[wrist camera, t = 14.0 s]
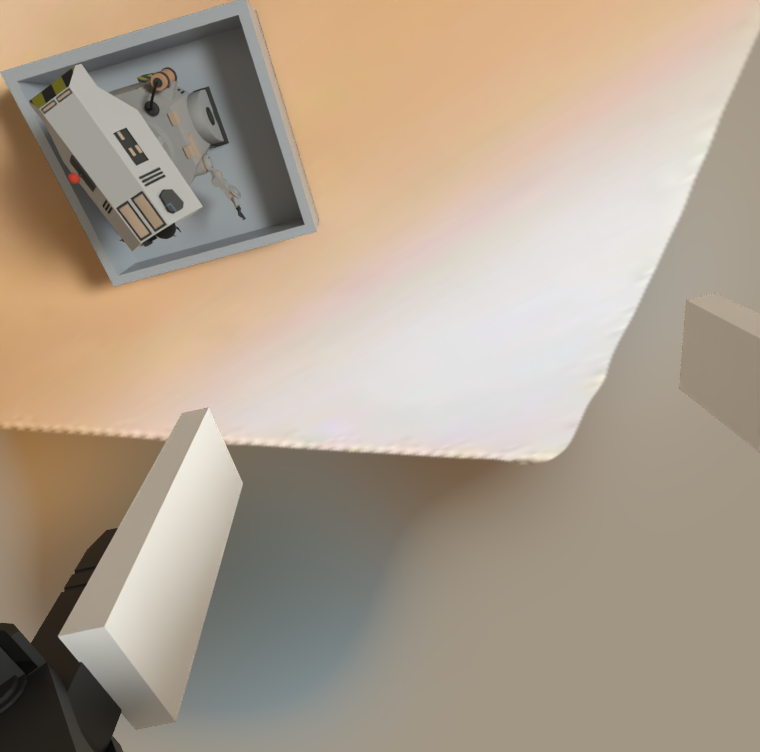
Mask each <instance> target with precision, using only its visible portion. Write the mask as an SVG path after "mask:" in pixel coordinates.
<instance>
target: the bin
mask: <svg viewBox="0 0 760 752" xmlns="http://www.w3.org/2000/svg"><path fill="white" fill-rule="evenodd" d="M79 64H82V65H83V67H84V68H85V70H86V71H87V73H88V74H89V75H90V77H91V78H92V80H93V81H94V83H95V84H96V85H97V87H99V88H101V89H103V90H104V91H106V92H108V93H109V92H111V91H113V90H116V89H120V88H123V87H126V86H130V85H133V84H136V83H139V81H138V79H137V77H140V76H141V75H145V74H150V73H154V72H156V71H158V70H159V71H161V70H162V69H163V68H165V67H169V68H172V69H173V70H174V71H175V72H176V75H177V81H178V83H177V86H179V87H180V88H182V89H184V90H186V91H187V92H188V93H189V94H190V93H193V91H195V90H198V89H201V88H205V87H208V86H209V88H210V91H211V94H212V96H213V99H214V102H215V105H216V108H217V110H218V113H219V116H220V119H221V122H222V124H223V127H224V130H225V133H226V136H227V138H228V141H229V143H228V144H224V145H221V146H218V147H215V146H212V144H210V147H209V150H208V152H207V154H209V155H210V157H211V158H212V161H213V163H214V167H215V170H220V171H221V172H222V175H223V176H222V178H224V179H226V180H227V181H228V183H229V184H230V185H233V186H235V187H236V188H237V189H238V190H239V191H240V193H241V198H240V199H238V200H239V202H240V204H241V205H240V207H241V212H242V214H243V215H244V216H245V218H246V219H245V220H243V218H241V217H239V216H238V211H237V210H236V208H235V206H234V204H233V202H232V201H231V200H229V199H228V198H227V196H226V195H225V193H224V191H223V190H221V189H220V187H215V186H213V185H212V183H211V180H212V178H213V177H212V175H211V173H210V172H207V174H203V175H200V176H196V177H195V178H194V180H193V182H192V183H191V185H190V186H189V187H190V188H191V190H192V191H193V193H194V194H195V196H196V197H197V199H198V200H199V201H200V203H201V204H202V206H203V208H202V209H200V210H199V211H197V212H196V213H194V214H193V215H191V216H189V217H188V218H186V219H185V220H183V221H182V222H180V223H178V224H177V225H176V226H177V227H179V229H180V231H181V232H180V231H179V230H178V229H176V232H175V234H174V235H175V236H173V237H171V238H169V239H161V238H159V237H157V239H155V240H154V241H152V242H153V243H152V244H150V245H149V246H147V247H145V246H142V247H140V248H138V249H136V250H134V251H131V250H130V248H129V247H128V246H127V244H126V243H125V242H123V241H119V240H121V239H122V238H121V237H120V235H119V234H118V233H117V231H116V230H115V229H114V227H113V226H112V225H111V224H110V222H109V221H108V220H107V218H106V217H105V216H104V214H103V213H102V212H101V211H100V209H99V208H98V207H97V205H96V204H95V203H94V201H93V200H92V199H91V198H90V196H89V195H88V194H87V192H86V191H85V190H84V188H83V187H82V186H81V184H80V183H78V184H73V183H71V182H70V181H69V180H68V175H69V174H70V173H71V171H70V170H69V169H68V168H67V166H66V165H65V164H64V162H63V160H62V158H61V156H60V154H59V152H58V150H57V148H56V146H55V144H54V142H53V140H52V138H51V135H50V133H49V131H48V129H47V127H46V125H45V124H44V122H43V121H42V120H41V118H40V117H39V116H38V115H37V113H36V112H35V111H34V109H33V108H32V107H31V105H30V104H29V101H30V100H31V99H32V98H34V97H35V96H36V95H37V94H39V93H40V92H41V91H43V90H44V89H45V88H47V87H48V86H49V85H51V84H52V83H53V82H54V81H56V80H57V79H58V78H60V77H61V76H62V75H64V74H65V73H66V72H67V71H69V70H70V69H71V68H73V67H74V66H75V65H79ZM0 73H1V75H2V77H3V78H4V80H5V82H6V84H7V86H8V88H9V90H10V92H11V94H12V95H13V97H14V99H15V101H16V103H17V105H18V107H19V109H20V111H21V112H22V114H23V116H24V118H25V120H26V122H27V124H28V126H29V128H30V129H31V131H32V133H33V135H34V137H35V139H36V141H37V143H38V145H39V146H40V148H41V150H42V152H43V154H44V156H45V158H46V160H47V162H48V163H49V165H50V167H51V169H52V171H53V173H54V175H55V177H56V178H57V180H58V182H59V184H60V186H61V188H62V190H63V192H64V194H65V195H66V197H67V199H68V201H69V203H70V205H71V207H72V209H73V211H74V212H75V214H76V216H77V218H78V220H79V222H80V224H81V226H82V228H83V229H84V231H85V233H86V235H87V237H88V239H89V241H90V243H91V245H92V246H93V248H94V250H95V252H96V254H97V256H98V258H99V260H100V262H101V263H102V265H103V267H104V269H105V271H106V273H107V275H108V277H109V279H110V280H111V282H112V284H113V286H118V285H121V284H125V283H129V282H133V281H136V280H140V279H144V278H147V277H151V276H155V275H158V274H162V273H166V272H169V271H173V270H177V269H180V268H184V267H188V266H192V265H195V264H199V263H203V262H206V261H210V260H214V259H217V258H221V257H225V256H228V255H232V254H236V253H240V252H243V251H247V250H251V249H254V248H258V247H262V246H265V245H269V244H273V243H276V242H280V241H284V240H287V239H291V238H295V237H299V236H302V235H306V234H310V233H313V232H317V228H318V223H319V218H318V215H317V212H316V208H315V205H314V202H313V199H312V195H311V192H310V189H309V185H308V182H307V179H306V175H305V172H304V169H303V165H302V162H301V159H300V155H299V152H298V149H297V145H296V142H295V139H294V135H293V132H292V129H291V125H290V122H289V119H288V115H287V112H286V109H285V105H284V102H283V99H282V95H281V92H280V89H279V85H278V82H277V79H276V75H275V72H274V69H273V65H272V62H271V59H270V55H269V52H268V49H267V45H266V42H265V39H264V35H263V32H262V29H261V25H260V22H259V19H258V15H257V12H256V10H255V9H254V8H253V7H252V6H251V4H250V3H249V2H248V1H247V0H236V1H233V2H230V3H226V4H223V5H220V6H216V7H213V8H210V9H207V10H203V11H200V12H197V13H193V14H190V15H187V16H183V17H180V18H177V19H173V20H170V21H167V22H164V23H160V24H157V25H154V26H150V27H147V28H144V29H140V30H137V31H134V32H130V33H127V34H124V35H121V36H117V37H114V38H111V39H107V40H104V41H101V42H97V43H94V44H91V45H87V46H84V47H81V48H78V49H74V50H71V51H68V52H64V53H61V54H58V55H54V56H51V57H48V58H44V59H41V60H38V61H35V62H31V63H28V64H25V65H21V66H18V67H15V68H11V69H8V70H5V71H1V72H0Z"/></svg>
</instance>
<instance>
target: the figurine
mask: <svg viewBox="0 0 760 752" xmlns="http://www.w3.org/2000/svg"><path fill="white" fill-rule="evenodd" d="M137 79H138V81H139V83H136V84H133V85H130V86H126V87H123V88H120V89H116V90H113V91H111V92H109V93H108V92H106V91H104V90H103V89H101V88H99V87H97V85H96V84H95V83H94V81H93V80H92V78H91V77H90V75H89V74H88V73H87V71H86V70H85V68H84V67H83V65H82V64H79V65H75V66H74V67H73V68H71V69H70V70H69V71H67V72H66V73H65V74H64V75H62V76H61V77H60V78H58V79H57V80H56V81H54V82H53V83H52V84H51V85H49V86H48V87H47V88H45V89H44V90H43V91H41V92H40V93H39V94H37V95H36V96H35V97H34V98H32V99H31V100H30V101H29V104H30V105H31V107H32V108H33V109H34V111H35V112H36V113H37V115H38V116H39V117H40V118H41V120H42V121H43V122H44V124H45V125H46V127H47V129H48V131H49V133H50V135H51V138H52V140H53V142H54V144H55V146H56V148H57V150H58V152H59V154H60V156H61V158H62V160H63V162H64V164H65V165H66V166H67V168H68V169H69V170H70V171H71V173H70V174H69V175H68V180H69V181H70V182H71V183H73V184H78V183H80V184H81V186H82V187H83V188H84V190H85V191H86V192H87V194H88V195H89V196H90V198H91V199H92V200H93V201H94V203H95V204H96V205H97V207H98V208H99V209H100V211H101V212H102V213H103V214H104V216H105V217H106V218H107V220H108V221H109V222H110V224H111V225H112V226H113V227H114V229H115V230H116V231H117V233H118V234H119V235H120V237H121V238H122V239H121V240H119V241H123V242H125V243H126V244H127V246H128V247H129V248H130V250H131V251H134V250H136V249H138V248H140V247H142V246H145V247H147V246H149V245H150V244H152V243H153V242H152V241H154V240H155V239H157V237H159V238H161V239H169V238H171V237H173V236H175V235H174V234H175V232H176V229H178V230H179V231H180V229H179V227H177V226H176V225H177V224H178V223H180V222H182V221H183V220H185V219H186V218H188V217H189V216H191V215H193V214H194V213H196V212H197V211H199V210H200V209H202V208H203V206H202V204H201V203H200V201H199V200H198V199H197V197H196V196H195V194H194V193H193V191H192V190H191V188H190V187H189V186H190V185H191V183H192V182H193V180H194V178H195V177H196V176H200V175H203V174H207V172H210V173H211V175H212V177H213V178H212V180H211V183H212V185H213V186H215V187H220V189H221V190H223V191H224V193H225V195H226V196H227V198H228V199H229V200H231V201H232V202H233V204H234V206H235V208H236V210H237V211H238V216H239V217H241V218H243V220H245V219H246V218H245V216H244V215H243V214H242V212H241V207H240V205H241V204H240V202H239V200H238V199H240V198H241V193H240V191H239V190H238V189H237V188H236V187H235V186H233V185H230V184H229V183H228V181H227V180H226V179H224V178H222V176H223V175H222V172H221V171H220V170H215V167H214V163H213V161H212V158H211V157H210V155H209V154H207V152H208V150H209V147H210V144H212V146H215V147H218V146H221V145H224V144H228V143H229V141H228V138H227V136H226V133H225V130H224V127H223V124H222V122H221V119H220V116H219V113H218V110H217V108H216V105H215V102H214V99H213V96H212V94H211V91H210V88H209V86H208V87H205V88H201V89H198V90H195V91H193V93H190V94H189V93H188V92H187V91H186V90H184V89H182V88H180V87H179V86H177V83H178V81H177V75H176V72H175V71H174V70H173V69H172V68H169V67H165V68H163V69H162V70H161V71H159V70H158V71H156V72H154V73H150V74H145V75H141V76H140V77H137ZM180 232H181V231H180Z"/></svg>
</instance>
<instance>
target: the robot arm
mask: <svg viewBox="0 0 760 752" xmlns="http://www.w3.org/2000/svg"><path fill="white" fill-rule="evenodd" d="M679 389H680V390H682V391H683V392H684V393H685V394H687V395H688V396H689V397H690V398H691V399H693V400H694V401H695V402H697V403H698V404H699V405H700V406H702V407H703V408H704V409H705V410H707V411H708V412H709V413H710V414H712V415H713V416H714V417H715V418H717V419H718V420H719V421H720V422H722V423H723V424H724V425H725V426H727V427H728V428H729V429H730V430H732V431H733V432H734V433H736V434H737V435H738V436H739V437H740V438H742V439H743V440H744V441H745V442H747V443H748V444H749V445H750V446H752V447H753V448H754V449H755V450H757V451H758V452H759V453H760V314H759V313H756V312H754V311H752V310H750V309H748V308H745V307H743V306H742V305H739V304H737V303H735V302H733V301H731V300H729V299H726V298H724V297H722V296H720V295H718V294H716V293H714V294H710V295H706V296H701V297H697V298H692V299H688V300H686V309H685V320H684V333H683V346H682V358H681V372H680V385H679ZM242 485H243V483H242V481H241V478H240V476H239V474H238V472H237V469H236V467H235V465H234V463H233V460H232V458H231V456H230V454H229V452H228V449H227V447H226V445H225V443H224V440H223V438H222V436H221V434H220V431H219V429H218V427H217V425H216V423H215V420H214V418H213V416H212V414H211V411H210V409H209V407H208V408H204V409H199V410H195V411H190V412H186V413H182V414H181V416H180V418H179V420H178V422H177V423H176V425H175V427H174V429H173V430H172V432H171V434H170V436H169V438H168V439H167V441H166V443H165V445H164V447H163V449H162V450H161V452H160V454H159V456H158V457H157V459H156V461H155V463H154V465H153V466H152V469H151V470H150V472H149V474H148V475H147V477H146V479H145V481H144V483H143V484H142V486H141V488H140V490H139V492H138V493H137V495H136V497H135V499H134V500H133V502H132V504H131V506H130V508H129V509H128V511H127V513H126V515H125V517H124V518H123V520H122V522H121V524H120V526H119V527H118V528H115V529H111V530H106V531H105V532H104V533H103V534H102V535H101V536H100V537H99V538H98V539H97V540H96V541H95V542H94V543H93V544H92V545H91V546H90V548H89V549H87V551H86V553H85V554H84V556H83V557H82V559H81V561H80V563H79V564H78V566H77V568H76V569H75V574H74V575H72V576H71V577H70V579H69V581H68V582H67V584H66V586H65V588H64V589H65V591H64V592H62V593H61V594H60V596H59V597H58V599H57V601H56V602H55V604H54V606H53V607H52V609H51V611H50V612H49V614H48V616H47V617H46V619H45V621H44V622H43V624H42V626H41V627H40V629H39V631H38V632H37V634H36V636H35V637H34V639H33V641H32V642H31V643H30V642H29V641H28V640H27V639H26V638H25V637H24V635H23V634H22V633H21V632H20V631H19V630H18V629H17V628H16V626H15V625H14V624H7V623H0V752H123V750H122V748H121V746H120V744H119V743H118V742H117V741H116V739H115V738H114V737H113V736H112V735H113V732H114V730H115V727H116V724H117V721H118V719H119V716H120V714H121V713H122V714H123V715H124V716H125V718H126V719H127V720H128V721H129V722H130V724H131V725H132V726H133V727H134V728H135V729H136V730H138V729H142V728H147V727H152V726H157V725H163V724H168V723H172V722H176V720H177V716H178V713H179V709H180V706H181V702H182V699H183V695H184V691H185V688H186V684H187V681H188V677H189V674H190V670H191V667H192V663H193V659H194V656H195V652H196V649H197V645H198V642H199V638H200V634H201V631H202V627H203V624H204V620H205V617H206V613H207V609H208V606H209V603H210V599H211V595H212V592H213V588H214V585H215V581H216V577H217V574H218V570H219V567H220V563H221V560H222V556H223V553H224V549H225V546H226V542H227V538H228V535H229V531H230V527H231V524H232V521H233V517H234V514H235V510H236V506H237V503H238V499H239V496H240V492H241V488H242Z"/></svg>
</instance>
